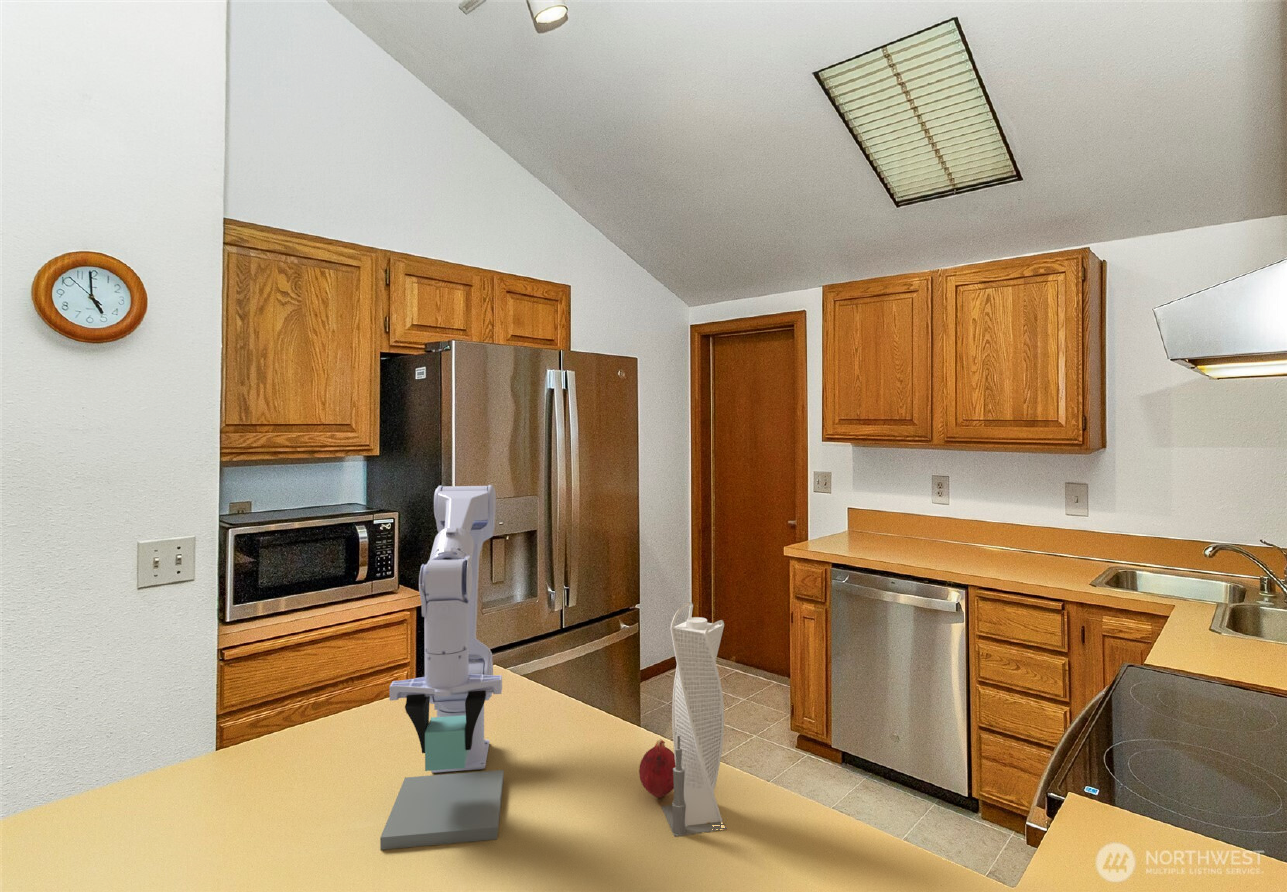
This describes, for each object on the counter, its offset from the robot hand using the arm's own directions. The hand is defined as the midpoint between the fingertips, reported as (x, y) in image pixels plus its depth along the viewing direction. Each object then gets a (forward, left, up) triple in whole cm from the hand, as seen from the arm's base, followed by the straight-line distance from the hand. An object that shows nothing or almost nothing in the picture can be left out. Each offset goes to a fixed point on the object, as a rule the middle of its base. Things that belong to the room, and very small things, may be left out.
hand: (447, 748), depth 91 cm
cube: (0, 0, -2) cm, 2 cm away
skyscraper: (+6, +33, -9) cm, 35 cm away
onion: (+1, +29, -9) cm, 30 cm away
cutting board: (0, 0, -9) cm, 9 cm away
